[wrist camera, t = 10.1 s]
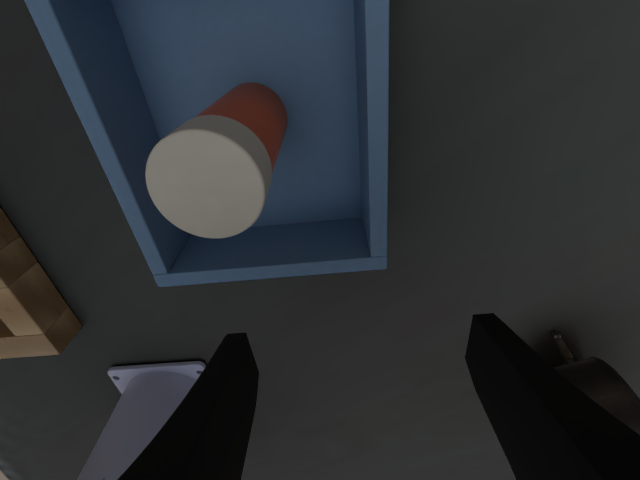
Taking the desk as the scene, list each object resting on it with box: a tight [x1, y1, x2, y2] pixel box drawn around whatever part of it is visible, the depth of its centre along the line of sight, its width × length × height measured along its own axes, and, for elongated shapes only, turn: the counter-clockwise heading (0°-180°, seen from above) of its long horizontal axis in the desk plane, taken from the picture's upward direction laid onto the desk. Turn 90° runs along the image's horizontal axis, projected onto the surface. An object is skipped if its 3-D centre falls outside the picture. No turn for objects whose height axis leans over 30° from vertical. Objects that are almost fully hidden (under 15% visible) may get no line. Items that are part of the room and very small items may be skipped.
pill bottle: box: [145, 83, 287, 239], centre depth 13 cm, size 3×3×8 cm
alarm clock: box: [551, 331, 640, 435], centre depth 21 cm, size 11×5×16 cm, turn 30°
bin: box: [24, 0, 389, 287], centre depth 15 cm, size 14×12×5 cm
